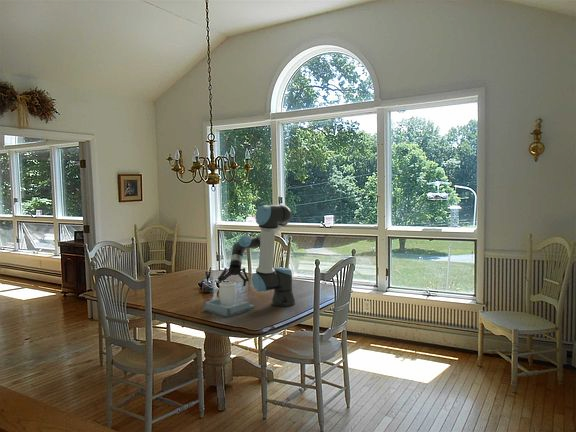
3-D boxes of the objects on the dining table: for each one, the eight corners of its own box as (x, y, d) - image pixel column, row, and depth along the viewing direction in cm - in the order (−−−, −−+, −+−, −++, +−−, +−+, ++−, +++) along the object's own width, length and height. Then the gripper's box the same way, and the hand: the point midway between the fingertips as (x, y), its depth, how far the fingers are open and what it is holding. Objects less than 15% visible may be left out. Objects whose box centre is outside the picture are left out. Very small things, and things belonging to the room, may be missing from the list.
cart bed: (256, 307, 273) (255, 300, 273) (228, 316, 255) (228, 308, 255) (232, 302, 287) (231, 294, 287) (204, 310, 270) (204, 302, 269)
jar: (219, 310, 264) (219, 285, 263) (219, 305, 274) (218, 282, 273) (237, 309, 266) (237, 284, 265) (236, 304, 276) (235, 281, 275)
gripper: (255, 265, 295) (251, 293, 282) (218, 265, 298) (213, 293, 284) (253, 259, 290) (250, 287, 276) (216, 259, 292) (211, 287, 278)
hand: (231, 290), depth 280 cm, fingers open, 13 cm apart
